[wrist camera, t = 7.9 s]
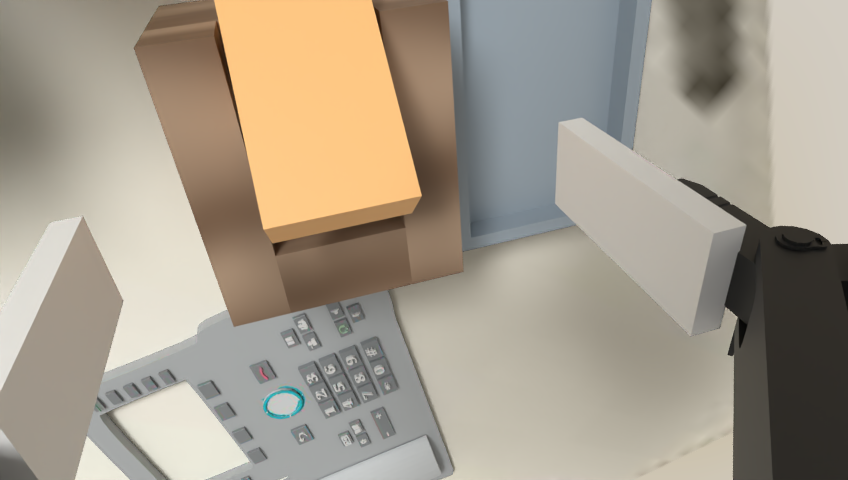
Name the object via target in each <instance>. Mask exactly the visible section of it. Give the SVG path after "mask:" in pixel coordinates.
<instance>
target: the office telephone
mask: <svg viewBox="0 0 848 480" xmlns="http://www.w3.org/2000/svg"><path fill="white" fill-rule="evenodd" d="M184 380H186V381H187V382H188V383H189V384H190V385H191V387H192V388H193V389H194V390H195V391H196V393H197V394H198V395H199V396H200V398H201V399H202V400H203V401H204V403H205V404H206V405H207V406H208V408H209V409H210V410H211V411H212V413H213V414H214V415H215V416H216V418H217V419H218V420H219V421H220V423H221V424H222V425H223V427H224V428H225V429H226V430H227V432H228V433H229V434H230V436H231V437H232V438H233V439H234V441H235V442H236V443H237V445H238V446H239V447H240V449H241V450H242V451H243V452H244V454H245V455H246V457H247V458H248V459H249V461H250V462H248V463H245V464H243V465H241V466H238V467H236V468H233V469H231V470H228V471H226V472H224V473H221V474H219V475H216V476H214V477H211V478H209V479H206V480H279V479H282V478H284V477H287V476H288V477H287V478H286V479H284V480H440V479H442V478H445V477H447V476H450V475H452V474H453V471H454V470H453V468H452V465H451V462H450V459H449V456H448V454H447V451H446V448H445V446H444V443H443V440H442V438H441V435H440V433H439V430H438V427H437V425H436V422H435V419H434V417H433V414H432V412H431V409H430V406H429V404H428V401H427V398H426V396H425V393H424V391H423V388H422V385H421V383H420V380H419V378H418V375H417V372H416V370H415V367H414V364H413V362H412V359H411V357H410V354H409V351H408V349H407V346H406V343H405V341H404V338H403V336H402V333H401V330H400V328H399V325H398V322H397V320H396V317H395V313H394V309H393V304H392V301H391V298H390V295H389V292H388V290H385V291H381V292H377V293H373V294H369V295H365V296H360V297H356V298H352V299H348V300H344V301H340V302H336V303H331V304H327V305H323V306H319V307H315V308H311V309H307V310H302V311H298V312H294V313H290V314H286V315H282V316H278V317H273V318H269V319H265V320H261V321H257V322H253V323H248V324H244V325H240V326H236V327H234V326H233V323H232V321H231V318H230V315H229V312H228V310H226V311H223V312H221V313H219V314H217V315H215V316H213V317H210V318H208V319H206V320H205V321H203V322H202V323H200V324H199V326H198V331H197V335H195V336H193V337H191V338H189V339H187V340H184V341H182V342H180V343H178V344H175V345H173V346H170V347H168V348H165V349H163V350H161V351H158V352H156V353H153V354H151V355H148V356H146V357H144V358H141V359H139V360H136V361H133V362H131V363H128V364H126V365H123V366H121V367H118V368H115V369H113V370H110V371H108V372H105V373H104V374H103V378H102V381H101V385H100V389H99V392H98V396H97V400H96V403H95V407H94V411H93V414H92V418H91V422H90V425H89V429H88V433H87V436H88V437H89V438H90V439H91V440H92V442H93V443H94V444H95V445H96V446H97V447H98V448H99V449H100V450H101V451H102V452H103V453H104V454H105V455H106V456H107V457H108V458H109V459H110V460H111V461H112V462H113V463H114V464H115V465H116V466H117V467H118V468H119V469H120V470H121V471H122V472H123V473H124V474H125V475H126V476H127V477H128V478H129V479H130V480H167V479H166V478H165V477H164V476H163V475H162V474H161V473H160V472H159V471H158V470H157V469H156V468H155V467H154V466H153V465H152V464H151V463H150V462H149V460H148V459H147V458H146V457H145V456H144V455H143V454H142V453H141V452H140V451H139V450H138V449H137V448H136V447H135V446H134V445H133V444H132V443H131V441H130V440H129V439H128V438H127V437H126V436H125V435H124V434H123V433H122V432H121V431H120V429H119V428H118V427H117V426H116V425H115V424H114V423H113V421H112V420H111V419H110V418H109V416H108V415H107V414H106V412H109V411H111V410H113V409H115V408H118V407H120V406H122V405H125V404H127V403H129V402H132V401H134V400H137V399H139V398H141V397H144V396H146V395H148V394H151V393H153V392H156V391H158V390H161V389H163V388H166V387H168V386H171V385H173V384H176V383H179V382H181V381H184ZM300 395H301V396H300Z"/></svg>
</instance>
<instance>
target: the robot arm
mask: <svg viewBox="0 0 848 480" xmlns="http://www.w3.org/2000/svg"><path fill="white" fill-rule="evenodd" d="M555 204H556V205H557V206H558V207H559V208H560V209H561V210H562V211H563V212H564V213H565V214H566V215H567V216H568V217H569V218H570V219H571V220H572V221H573V222H574V223H575V224H576V225H577V226H578V227H579V228H580V229H581V230H582V231H583V232H584V233H585V234H587V235H588V236H589V237H590V238H591V239H592V240H593V241H594V242H595V243H596V244H597V245H598V246H599V247H600V248H601V249H602V250H603V251H604V252H605V253H606V254H607V255H608V256H609V257H610V258H611V259H612V260H613V261H614V262H615V263H616V264H617V265H618V266H619V267H620V268H621V269H622V270H623V271H624V272H625V273H626V274H627V275H628V276H629V277H630V278H631V279H632V280H633V281H635V282H636V283H637V284H638V285H639V286H640V287H641V288H642V289H643V290H644V291H645V292H646V293H647V294H648V295H649V296H650V297H651V298H652V299H653V300H654V301H655V302H656V303H657V304H658V305H659V306H660V307H661V308H662V309H663V310H664V311H665V312H666V313H667V314H668V315H669V316H670V317H671V318H672V319H673V320H674V321H675V322H676V323H677V324H678V325H679V326H680V327H681V328H683V329H684V330H685V331H686V332H687V333H688V334H689V335H690V336H694V335H697V334H701V333H704V332H708V331H711V330H715V329H718V328H720V326H721V322H722V318H723V314H724V311H725V307H727V308H728V309H729V310H730V311H732V312H733V313H734V314H735V315H736V316H738V319H737V322H736V326H735V330H734V333H733V337H732V341H731V344H730V348H729V351H728V355H730V356H733V355H734V426H733V437H734V438H733V480H848V244H830V242H829V241H828V240H827V239H826V238H824V237H823V236H821V235H820V234H817V233H815V232H813V231H810V230H807V229H803V228H798V227H794V226H777V227H771V228H769V227H768V226H766V225H764V224H763V223H761V222H760V221H758V220H757V219H755V218H753V217H752V216H750V215H749V214H747V213H745V212H744V211H742V210H741V209H739V208H738V207H736V206H734V205H730V202H728V201H726V200H725V199H723V198H722V197H718V196H717V194H715V193H714V192H712V191H711V190H709V189H707V188H706V187H704V186H703V185H700V184H697V183H694V182H691V181H688V180H685V179H678V180H677V179H675V178H674V177H672V176H671V175H669V174H668V173H666V172H665V171H663V170H662V169H660V168H658V167H657V166H655V165H654V164H652V163H651V162H649V161H648V160H646V159H645V158H643V157H642V156H640V155H639V154H637V153H636V152H634V151H632V150H631V149H629V148H628V147H626V146H625V145H623V144H622V143H620V142H619V141H617V140H616V139H614V138H613V137H611V136H610V135H608V134H607V133H605V132H603V131H602V130H600V129H599V128H597V127H596V126H594V125H593V124H591V123H590V122H588V121H587V120H585V119H584V118H577V119H572V120H567V121H562V122H559V124H558V147H557V170H556V193H555ZM122 304H123V299H122V297H121V295H120V293H119V291H118V289H117V287H116V285H115V282H114V280H113V278H112V276H111V274H110V272H109V270H108V268H107V266H106V264H105V262H104V259H103V257H102V255H101V253H100V251H99V249H98V247H97V245H96V243H95V241H94V239H93V236H92V234H91V232H90V230H89V228H88V226H87V224H86V222H85V220H84V218H83V216H80V217H75V218H70V219H65V220H60V221H54V222H50V223H49V225H48V227H47V229H46V230H45V232H44V234H43V236H42V238H41V239H40V241H39V243H38V245H37V247H36V248H35V250H34V252H33V254H32V255H31V257H30V259H29V261H28V263H27V264H26V266H25V268H24V270H23V272H22V273H21V275H20V277H19V279H18V281H17V282H16V284H15V286H14V288H13V290H12V291H11V293H10V295H9V297H8V298H7V300H6V302H5V304H4V306H3V307H2V309H1V311H0V480H75V477H76V473H77V469H78V466H79V462H80V458H81V455H82V451H83V447H84V444H85V440H86V436H87V433H88V429H89V425H90V422H91V418H92V414H93V411H94V407H95V403H96V400H97V396H98V392H99V389H100V385H101V381H102V378H103V374H104V370H105V367H106V363H107V359H108V356H109V352H110V348H111V345H112V341H113V337H114V334H115V330H116V326H117V322H118V319H119V315H120V311H121V308H122Z"/></svg>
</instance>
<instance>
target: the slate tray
mask: <svg viewBox="0 0 848 480" xmlns="http://www.w3.org/2000/svg"><path fill="white" fill-rule="evenodd" d="M447 1H448V9H449V27H450V45H451V62H452V80H453V97H454V115H455V132H456V150H457V168H458V185H459V203H460V220H461V238H462V252H463V251H468V250H472V249H476V248H480V247H485V246H489V245H493V244H497V243H502V242H506V241H510V240H515V239H519V238H523V237H527V236H532V235H536V234H540V233H544V232H549V231H553V230H557V229H562V228H566V227H570V226H574V225H576V224H575V223H574V222H573V221H572V220H571V219H570V218H569V217H568V216H567V215H566V214H565V213H564V212H563V211H562V210H561V209H560V208H559V207H558V206H557V205H556V204H555V193H556V170H557V147H558V124H559V122H562V121H567V120H572V119H577V118H584V119H585V120H587V121H588V122H590V123H591V124H593V125H594V126H596V127H597V128H599V129H600V130H602V131H603V132H605V133H607V134H608V135H610V136H611V137H613V138H614V139H616V140H617V141H619V142H620V143H622V144H623V145H625V146H626V147H628V148H629V149H631V150H633V142H634V135H635V127H636V119H637V111H638V104H639V96H640V88H641V80H642V72H643V65H644V57H645V49H646V41H647V33H648V26H649V18H650V10H651V2H652V0H447Z"/></svg>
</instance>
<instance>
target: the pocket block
mask: <svg viewBox="0 0 848 480" xmlns="http://www.w3.org/2000/svg"><path fill="white" fill-rule="evenodd" d="M372 3H373V7H374V11H375V15H376V19H377V23H378V27H379V31H380V34H381V38H382V42H383V46H384V50H385V54H386V58H387V62H388V66H389V70H390V73H391V77H392V81H393V85H394V89H395V93H396V97H397V101H398V105H399V109H400V112H401V116H402V120H403V124H404V128H405V132H406V136H407V140H408V144H409V148H410V151H411V155H412V159H413V163H414V167H415V171H416V175H417V179H418V183H419V187H420V191H421V194H422V197H421V198H420V200H419V202H418V204H417V205H416V207H415V209H414V211H413V212H412V213H411V214H406V215H401V216H397V217H392V218H388V219H383V220H378V221H374V222H369V223H365V224H360V225H355V226H351V227H346V228H342V229H337V230H332V231H328V232H323V233H319V234H314V235H309V236H305V237H300V238H296V239H291V240H286V241H282V242H277V243H272V242H271V240H270V239H269V237H268V236H267V234H266V233H265V231H264V230H263V225H262V221H261V216H260V211H259V207H258V202H257V197H256V193H255V188H254V183H253V179H252V174H251V170H250V165H249V160H248V156H247V151H246V146H245V142H244V137H243V132H242V128H241V123H240V118H239V114H238V109H237V104H236V100H235V95H234V90H233V86H232V81H231V76H230V72H229V67H228V63H227V58H226V53H225V49H224V44H223V39H222V35H221V30H220V25H219V21H218V16H217V11H216V7H215V2H214V0H200V1H193V2H185V3H178V4H171V5H164V6H159V7H158V8H157V10H156V12H155V13H154V15H153V17H152V18H151V20H150V22H149V23H148V25H147V27H146V28H145V30H144V32H143V33H142V35H141V37H140V38H139V40H138V42H137V43H136V45H135V47H134V50H135V52H136V55H137V58H138V61H139V64H140V66H141V69H142V72H143V75H144V78H145V80H146V83H147V86H148V89H149V91H150V94H151V97H152V100H153V103H154V105H155V108H156V111H157V114H158V117H159V119H160V122H161V125H162V128H163V131H164V133H165V136H166V139H167V142H168V145H169V147H170V150H171V153H172V156H173V159H174V161H175V164H176V167H177V170H178V172H179V175H180V178H181V181H182V184H183V186H184V189H185V192H186V195H187V198H188V200H189V203H190V206H191V209H192V212H193V214H194V217H195V220H196V223H197V226H198V228H199V231H200V234H201V237H202V240H203V242H204V245H205V248H206V251H207V253H208V256H209V259H210V262H211V265H212V267H213V270H214V273H215V276H216V279H217V281H218V284H219V287H220V290H221V293H222V295H223V298H224V301H225V304H226V307H227V309H228V312H229V315H230V318H231V321H232V323H233V326H234V327H236V326H240V325H244V324H248V323H253V322H257V321H261V320H265V319H269V318H273V317H278V316H282V315H286V314H290V313H294V312H298V311H302V310H307V309H311V308H315V307H319V306H323V305H327V304H331V303H336V302H340V301H344V300H348V299H352V298H356V297H360V296H365V295H369V294H373V293H377V292H381V291H385V290H390V289H394V288H398V287H402V286H406V285H410V284H414V283H419V282H423V281H427V280H431V279H435V278H439V277H443V276H448V275H452V274H456V273H460V272H463V255H462V238H461V220H460V203H459V185H458V168H457V150H456V132H455V115H454V97H453V80H452V62H451V45H450V27H449V9H448V1H447V0H372Z"/></svg>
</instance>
